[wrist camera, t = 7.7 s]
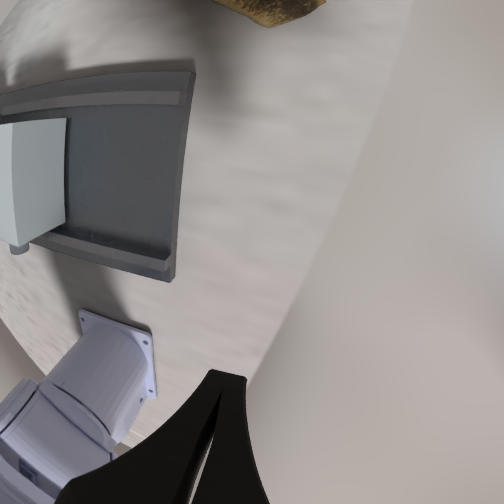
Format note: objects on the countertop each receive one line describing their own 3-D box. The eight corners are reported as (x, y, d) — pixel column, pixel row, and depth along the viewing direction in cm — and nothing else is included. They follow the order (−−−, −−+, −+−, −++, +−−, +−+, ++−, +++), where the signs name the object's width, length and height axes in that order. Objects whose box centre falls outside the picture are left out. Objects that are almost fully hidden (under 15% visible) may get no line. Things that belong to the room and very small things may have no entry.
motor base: (175, 276, 21) (137, 323, 16) (-11, 223, 23) (-48, 242, 17) (196, 74, 15) (151, 52, 10) (-13, 100, 17) (-55, 106, 12)
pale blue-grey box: (67, 245, 20) (23, 273, 15) (8, 227, 21) (-30, 248, 16) (66, 118, 16) (12, 122, 11) (4, 124, 17) (-39, 132, 12)
